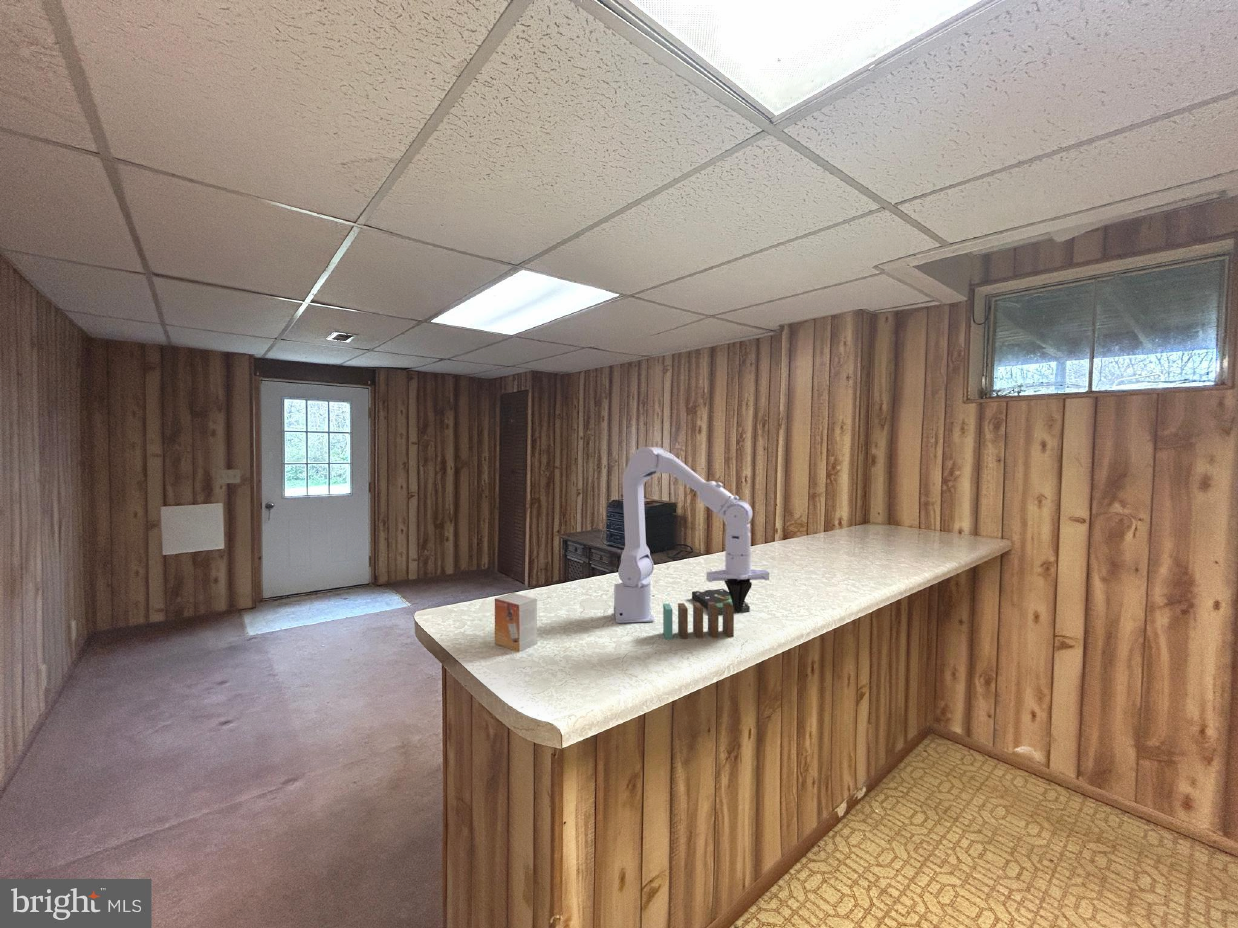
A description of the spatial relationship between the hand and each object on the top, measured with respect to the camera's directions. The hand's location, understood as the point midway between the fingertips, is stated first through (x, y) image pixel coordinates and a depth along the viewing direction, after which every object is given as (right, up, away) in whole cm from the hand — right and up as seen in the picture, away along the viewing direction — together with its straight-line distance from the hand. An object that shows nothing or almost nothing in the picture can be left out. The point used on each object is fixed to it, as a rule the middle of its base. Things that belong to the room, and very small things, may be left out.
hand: (737, 610), depth 117 cm
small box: (-51, -6, -6) cm, 52 cm away
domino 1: (-13, -6, -1) cm, 14 cm away
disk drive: (0, -5, +21) cm, 21 cm away
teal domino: (-17, -6, -1) cm, 17 cm away
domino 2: (-9, -6, -1) cm, 11 cm away
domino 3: (-6, -5, 0) cm, 8 cm away
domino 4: (-2, -5, 0) cm, 6 cm away
